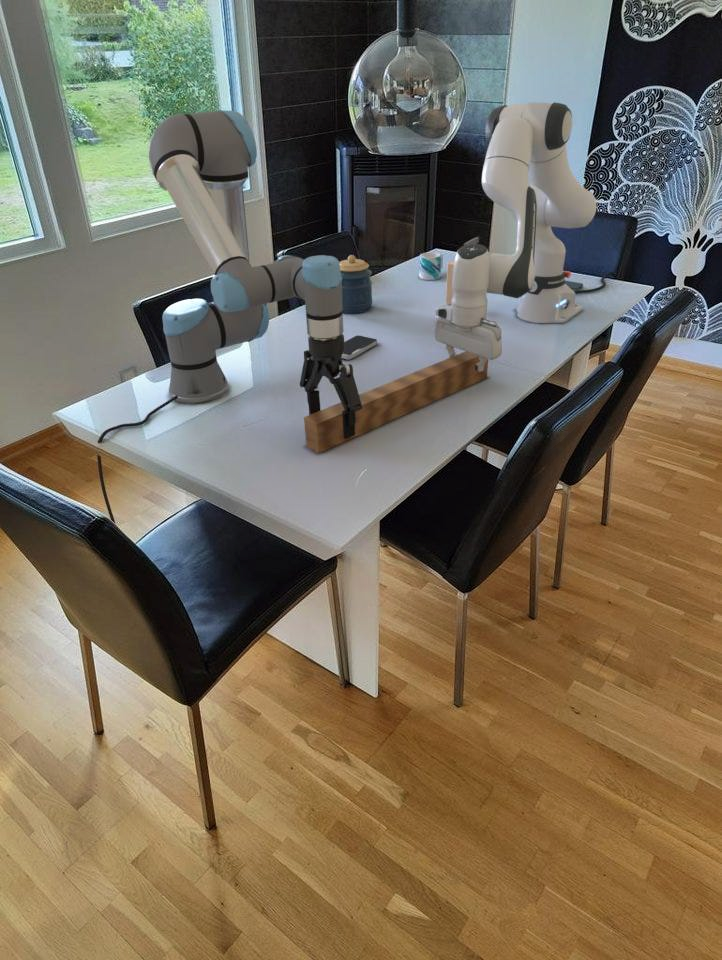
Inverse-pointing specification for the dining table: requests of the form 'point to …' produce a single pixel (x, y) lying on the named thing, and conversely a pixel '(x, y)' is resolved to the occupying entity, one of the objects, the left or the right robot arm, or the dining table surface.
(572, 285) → the smartphone
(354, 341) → the smartphone
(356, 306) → the canister
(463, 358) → the post
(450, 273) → the soap dispenser
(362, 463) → the dining table surface
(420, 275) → the mug
